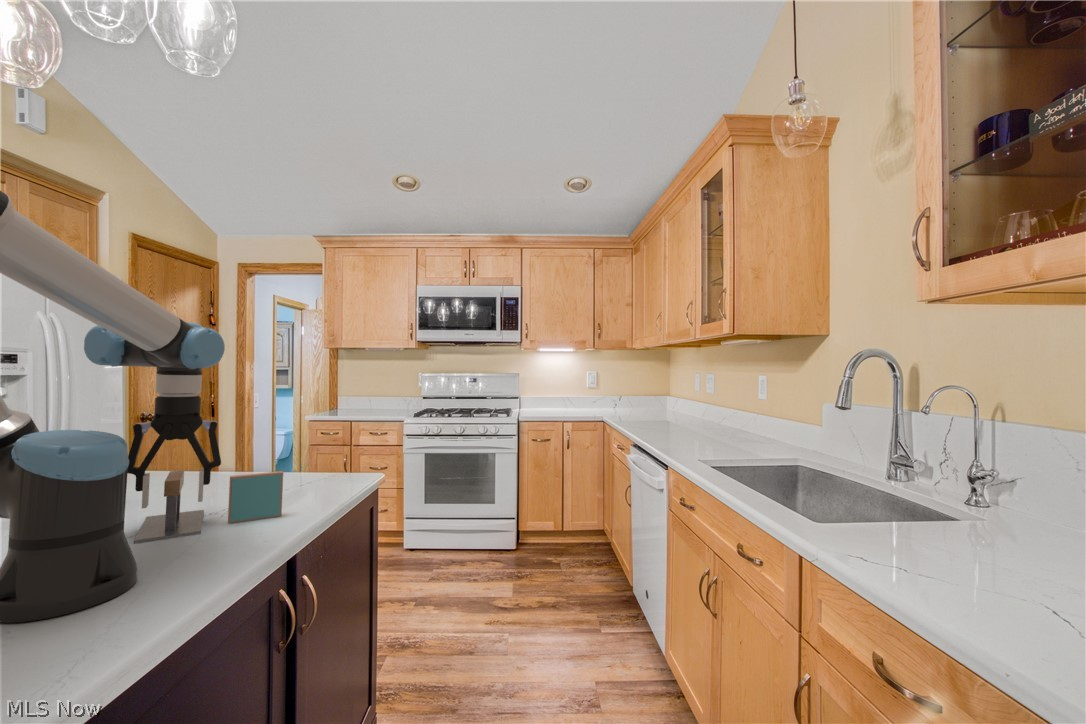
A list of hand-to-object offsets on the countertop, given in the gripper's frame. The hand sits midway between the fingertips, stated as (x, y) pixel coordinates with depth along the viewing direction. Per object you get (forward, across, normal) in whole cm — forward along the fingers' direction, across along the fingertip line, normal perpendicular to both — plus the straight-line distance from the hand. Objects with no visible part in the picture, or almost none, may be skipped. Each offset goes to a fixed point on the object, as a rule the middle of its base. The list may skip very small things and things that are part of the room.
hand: (173, 503), depth 94 cm
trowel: (+5, 0, 0) cm, 5 cm away
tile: (+5, -14, +3) cm, 16 cm away
